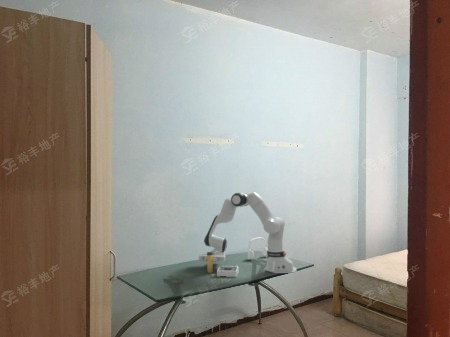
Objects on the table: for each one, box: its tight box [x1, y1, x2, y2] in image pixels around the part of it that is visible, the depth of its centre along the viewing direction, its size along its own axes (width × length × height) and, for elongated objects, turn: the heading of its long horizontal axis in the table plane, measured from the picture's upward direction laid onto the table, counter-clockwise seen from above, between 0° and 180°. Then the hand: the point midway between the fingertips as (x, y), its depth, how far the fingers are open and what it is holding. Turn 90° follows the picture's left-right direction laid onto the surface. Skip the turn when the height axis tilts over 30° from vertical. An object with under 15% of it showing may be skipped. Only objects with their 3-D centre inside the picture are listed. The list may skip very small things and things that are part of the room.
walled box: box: [216, 265, 240, 278], centre depth 244 cm, size 14×13×4 cm
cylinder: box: [206, 251, 214, 274], centre depth 250 cm, size 4×4×14 cm
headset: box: [247, 236, 268, 260], centre depth 290 cm, size 20×7×18 cm, turn 122°
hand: (209, 260), depth 249 cm, fingers closed on cylinder, 4 cm apart
